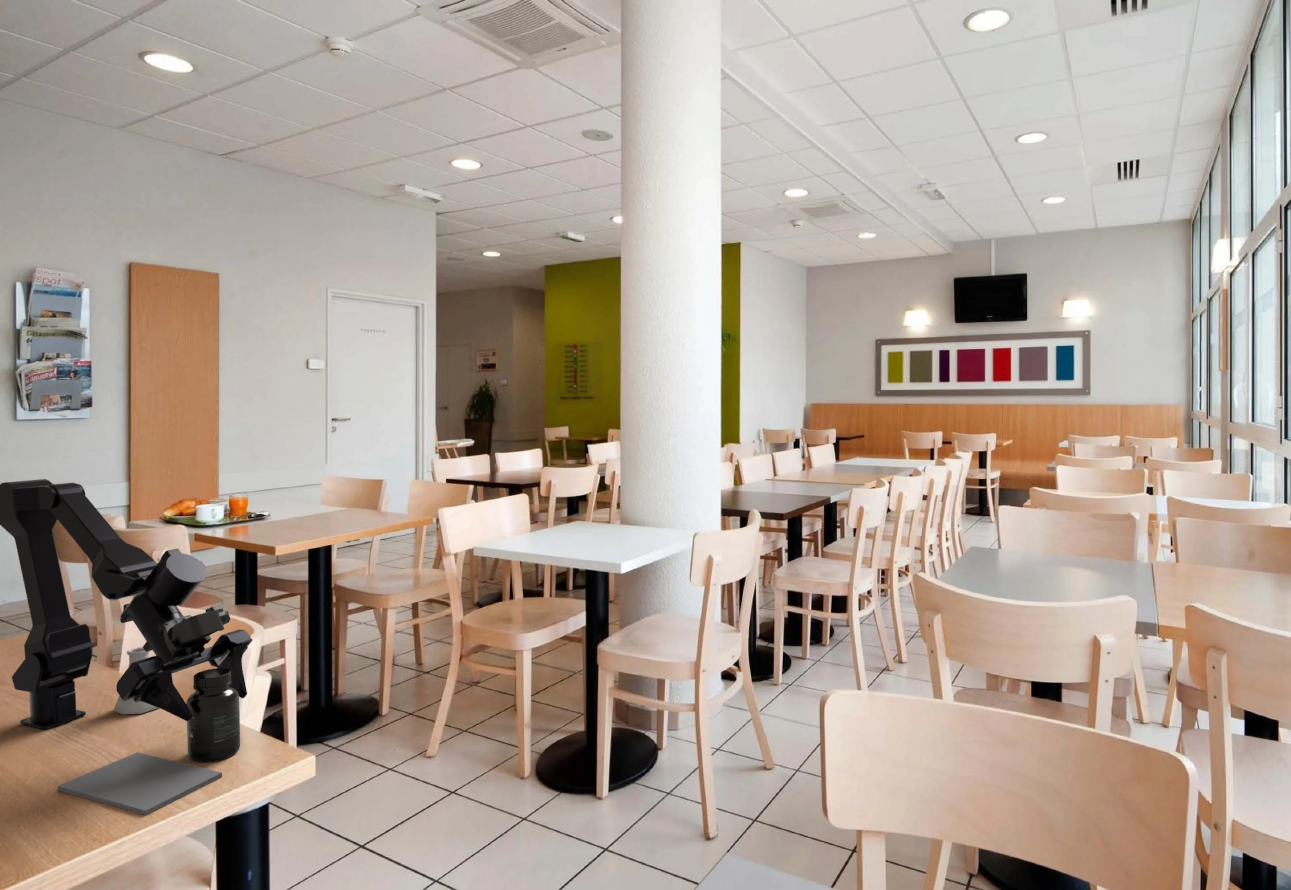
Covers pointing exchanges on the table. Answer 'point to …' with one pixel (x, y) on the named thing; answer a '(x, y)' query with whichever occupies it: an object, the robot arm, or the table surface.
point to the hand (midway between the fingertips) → (218, 707)
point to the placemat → (140, 782)
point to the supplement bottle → (213, 717)
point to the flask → (130, 704)
